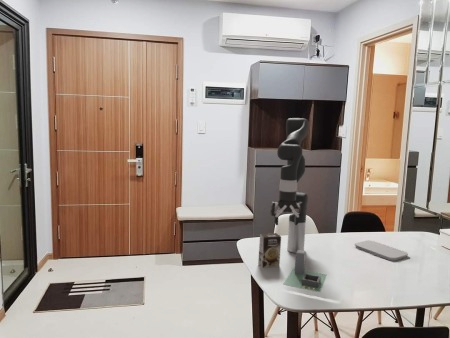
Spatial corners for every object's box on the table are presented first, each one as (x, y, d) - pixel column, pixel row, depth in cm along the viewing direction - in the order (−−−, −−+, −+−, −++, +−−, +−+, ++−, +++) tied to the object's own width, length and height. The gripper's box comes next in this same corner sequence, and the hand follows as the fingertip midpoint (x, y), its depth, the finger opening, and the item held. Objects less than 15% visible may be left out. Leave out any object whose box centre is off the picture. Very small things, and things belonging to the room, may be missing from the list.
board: (293, 270, 176) (293, 263, 176) (326, 276, 170) (327, 269, 169) (282, 286, 158) (283, 278, 157) (320, 294, 152) (320, 286, 151)
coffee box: (262, 269, 176) (264, 237, 173) (257, 264, 182) (259, 233, 180) (279, 268, 178) (281, 236, 176) (274, 263, 184) (276, 232, 182)
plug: (296, 270, 173) (297, 249, 172) (304, 271, 172) (306, 250, 170) (294, 273, 170) (295, 252, 168) (303, 275, 168) (304, 253, 167)
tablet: (369, 243, 222) (369, 239, 221) (410, 257, 200) (410, 253, 200) (352, 247, 213) (352, 243, 213) (392, 262, 191) (392, 258, 191)
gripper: (301, 187, 164) (299, 222, 166) (270, 187, 163) (268, 222, 165) (306, 191, 156) (304, 227, 159) (273, 190, 156) (271, 227, 158)
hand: (286, 224), depth 162 cm, fingers open, 8 cm apart
